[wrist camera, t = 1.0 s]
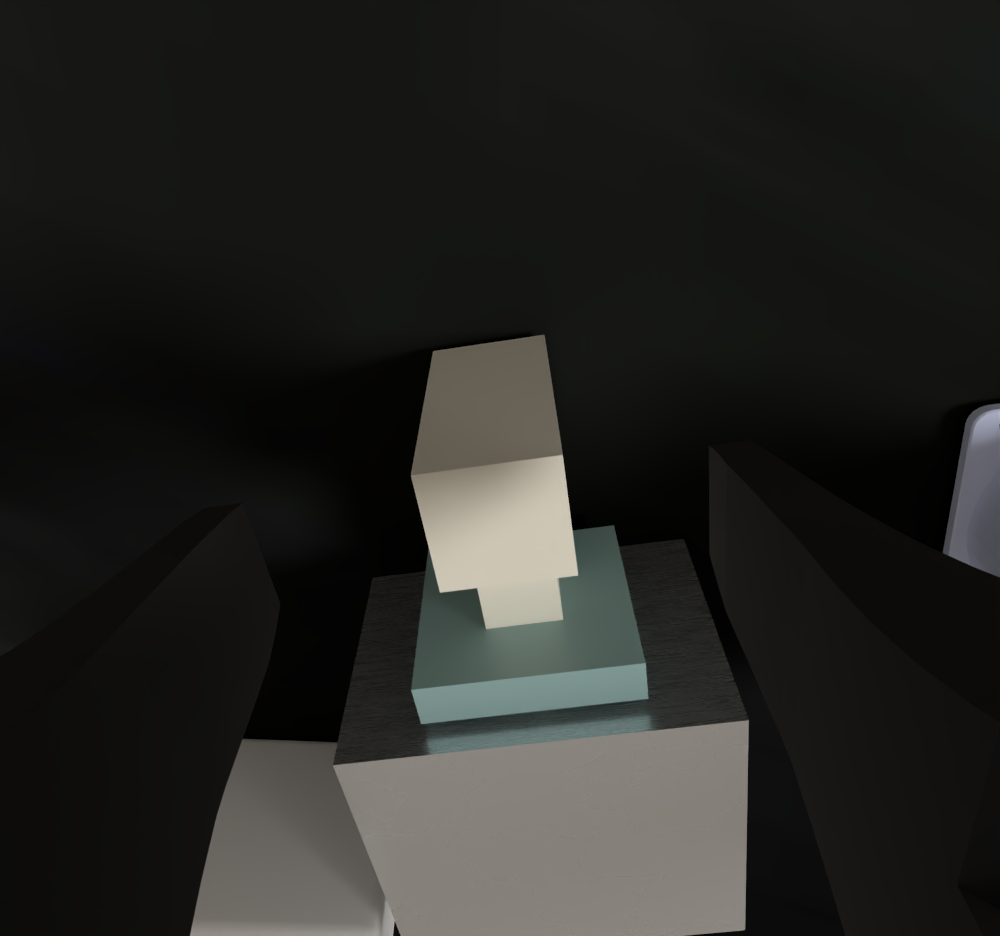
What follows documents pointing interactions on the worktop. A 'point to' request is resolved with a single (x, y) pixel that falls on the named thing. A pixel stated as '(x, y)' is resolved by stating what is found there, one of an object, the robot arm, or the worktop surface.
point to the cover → (511, 551)
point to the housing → (556, 783)
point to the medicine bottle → (288, 851)
